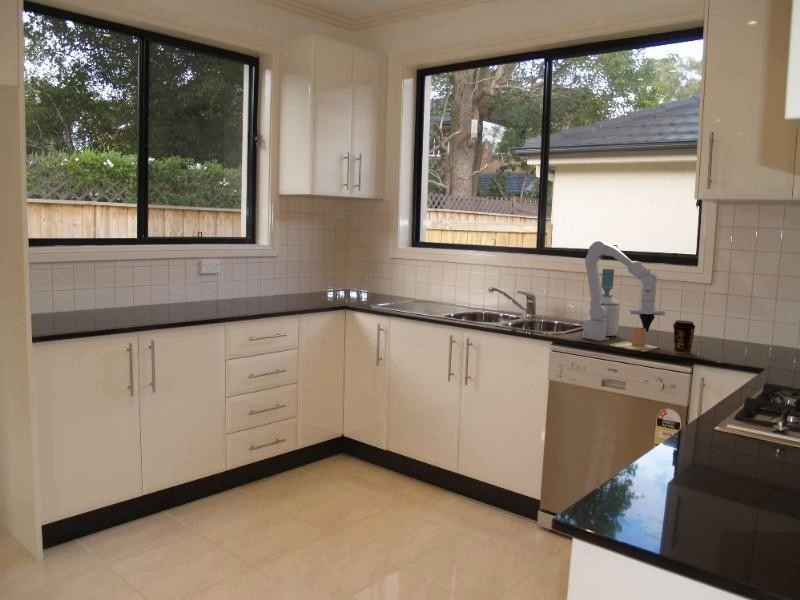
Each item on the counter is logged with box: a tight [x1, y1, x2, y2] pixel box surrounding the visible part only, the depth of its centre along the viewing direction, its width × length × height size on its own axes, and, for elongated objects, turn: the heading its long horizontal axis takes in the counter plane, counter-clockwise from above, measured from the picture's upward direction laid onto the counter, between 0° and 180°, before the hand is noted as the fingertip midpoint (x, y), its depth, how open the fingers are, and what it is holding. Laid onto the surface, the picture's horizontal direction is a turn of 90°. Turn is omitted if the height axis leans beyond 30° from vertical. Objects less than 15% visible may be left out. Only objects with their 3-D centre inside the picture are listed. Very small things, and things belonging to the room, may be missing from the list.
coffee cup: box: [672, 319, 696, 355], centre depth 283 cm, size 9×8×13 cm
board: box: [609, 341, 661, 353], centre depth 293 cm, size 16×14×1 cm
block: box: [631, 326, 646, 346], centre depth 294 cm, size 4×4×8 cm
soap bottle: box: [601, 268, 620, 337], centre depth 320 cm, size 12×12×31 cm
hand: (645, 331), depth 299 cm, fingers closed
